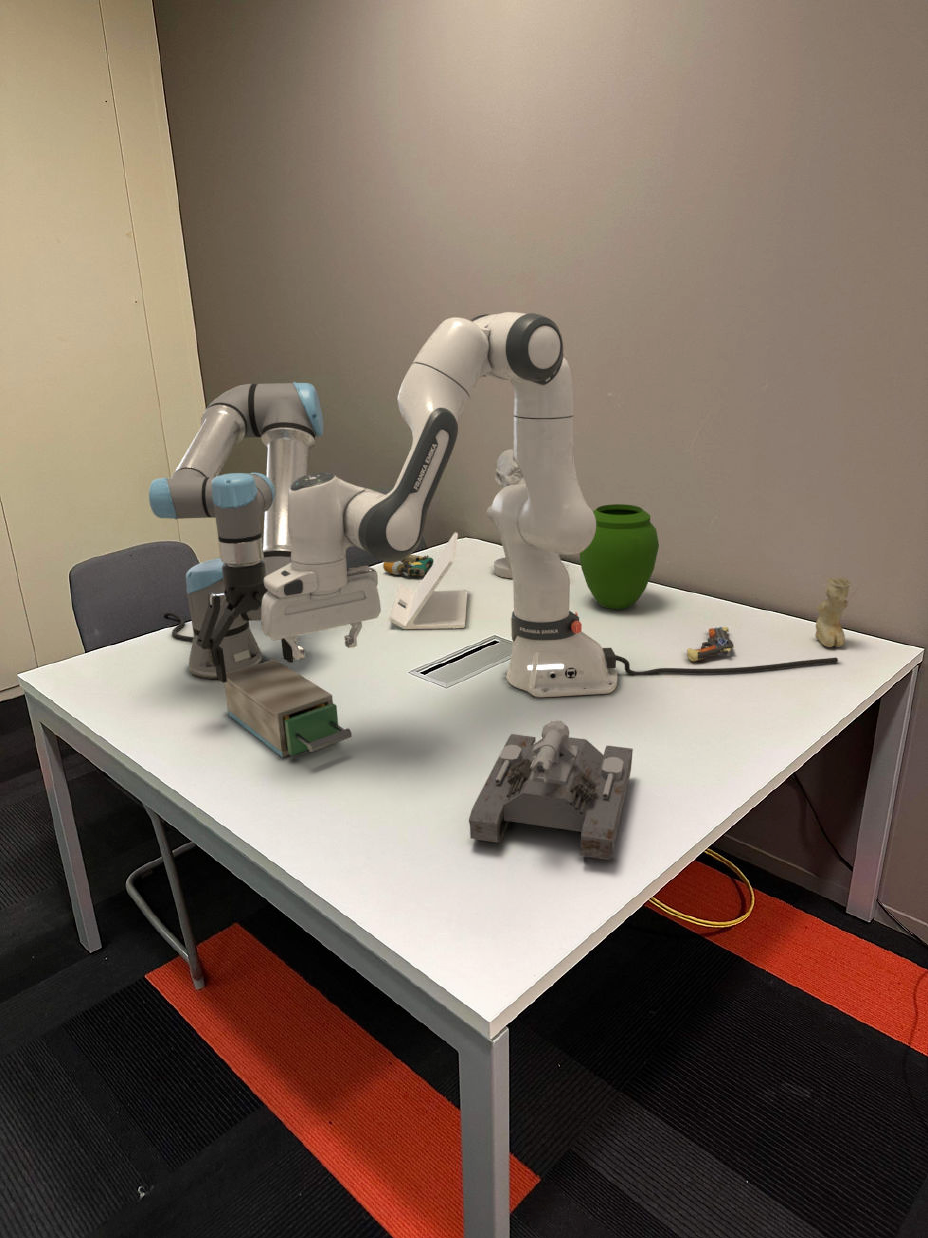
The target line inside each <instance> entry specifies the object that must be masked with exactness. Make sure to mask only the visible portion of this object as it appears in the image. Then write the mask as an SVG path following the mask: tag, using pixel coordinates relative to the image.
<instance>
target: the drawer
mask: <svg viewBox="0 0 928 1238" xmlns="http://www.w3.org/2000/svg"><path fill="white" fill-rule="evenodd" d="M337 706H338V705H336V704H335V703H334V702H333V703H332V704H329V705H327V706H325V704H324V703H322V704H319V705H316V706H313V707H310V708H307V709H304V710H301V711H299V712H296V713H293V714H290V715H287V716H284V717H283V722H284V730H285V739H286V745H287V746H288V754H289V755H288V756H291V757H293V756H295V755H298V754H300V753H304V752H306V751H309V752H310V753H313V752H315V751H318V750H321V749H324V748H326V747H329V746H332V745H335V744H338V743H339V742H342V741H344V740H347V739H350V738H352V736H353V734H352V733H353V732H352V730H351V729H350V728H348V727H347V728H344V727H342V726H341V725H339V718H338V716H339V715H338V707H337Z"/></svg>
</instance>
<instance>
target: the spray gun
mask: <svg viewBox="0 0 928 1238" xmlns="http://www.w3.org/2000/svg"><path fill="white" fill-rule="evenodd" d="M433 564H434V558H433V557H429V555H424V556H422V555H421V556H420V555H415V554H411V555H410V556H408V557H407V558H405V559H403V560H401V561H398V562H393V563H388V562H383V564H382V568H383V571H384V572H386V573H389V574H392V575H395V576H399V575H402V574H407V575H408V576H418V577H423V576H425V575H426V574H425V573H426V572H428V568H429V567H430V566H431V567H432V565H433Z"/></svg>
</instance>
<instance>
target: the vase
mask: <svg viewBox="0 0 928 1238" xmlns="http://www.w3.org/2000/svg"><path fill="white" fill-rule="evenodd" d="M592 512H593V513H594V515H595V519H596V532H595V536H594V538H593V540H592V542H591V543H590V545H589V546H588V547H587V548H586V549H585V550H584V551H582V552H580V553H578V554H579V562H580V569H581V571H582V574H583V577H584V580H585V583H586V585H587V588H588V590H589V591H590V594H592V597H593V598H594V600H595V601H596V602H597V603H598V604H599V605H600V606H602V607H604V608H606V609H609V610H625V609H628V608H630V607H632V606H634V604H636V602H638V601H639V599H640V597H641V596H642V595H643V593H644V592H645V590H646V588H647V586H648V584H649V581H650V579H651V577H652V574H653V572H654V570H655V566H656V562H657V557H658V552H659V548H660V544H659V543H660V542H659V537H658V531H657V528H656V527H655V526H654V524H653V523H652V522H651V515H650V514H649V512H647V511H645V510H644V509H643V508H642V507H641V506H638V505H633V504H622V503H621V504H619V503H616V504H615V503H614V504H604V505H601V506H598V507H597V508H595V509H594V510H592Z"/></svg>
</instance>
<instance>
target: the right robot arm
mask: <svg viewBox="0 0 928 1238" xmlns="http://www.w3.org/2000/svg"><path fill="white" fill-rule="evenodd" d="M483 377H485V378H486V377H488V378H493V379H495V380H496V379H497V380H503V381H508V380H509V381H510V383H511V386H512V388H513V392H514V396H513V431H512V432H513V437H512V439H513V440H512V441H513V445H512V446H513V447H512V449H513V455H514V459H515V462H516V464H517V465H518V466H519V468H520V470H521V472H522V474H523V477H524V480H525V483H526V484H518V485H510V486H507V487H505V488H501V489H500V490H499V491H498V493H496V495H495V497H494V499H493V501H492V504H491V505H492V517H493V520H494V522H495V524H496V525H497V527H498V528H499V530H500V532H501V534H502V537H503V539H504V543H505V546H506V550H507V553H508V557H509V561H510V565H511V570H512V576H513V578H512V591H513V593H512V594H513V611H512V612H511V618H510V635H511V640H512V645H511V646H512V647H511V655H510V660H509V665H508V669H507V672H506V675H505V678H506V681H507V683H509V684H510V685H511V686H513V687H515V688H517V689H519V690H522V691H525V692H527V693H529V694H530V695H531V696H533V697H535V698H556V697H572V696H573V697H574V696H588V695H589V696H590V695H591V696H592V695H607V694H611V693H612V692H613V691H615V690H616V688H617V686H618V673H617V670H616V668H617V662H620V663H622V664H623V665H624V671H625V673H626V674H627V675H629V676H651V675H657V674H694V675H695V674H696V675H697V674H698V675H699V674H703V675H704V674H732V673H733V674H735V673H749V672H758V671H759V672H760V671H771V670H778V669H785V668H794V667H802V666H811V665H822V664H832V663H838V662H839V658H838V657H828V658H816V659H806V660H797V661H789V662H781V663H772V664H762V665H753V666H752V665H751V666H740V667H719V668H718V667H717V668H687V667H686V668H685V667H684V668H683V667H659V668H658V667H657V668H653V669H649V670H643V671H634V670H632V669H631V668H630V667H631V665H630V662H629V661H628V659H627V658H625V657H623V656H619V655H617V654H616V653H615V652H614V650H613V648H612V647H602V645H601V644H600V643H599V642H598V641H596V640H595V639H593V638H591V637H590V636H589V635H587V634H586V633H585V632H583V631H582V630H583V626H582V625H583V624H582V622H581V621H580V616H579V615H578V612H577V611H575V613H574V612H573V611H571V610H570V590H571V589H570V586H571V585H570V584H571V579H570V574H569V572H568V570H567V567H566V566H565V565H564V563H563V561H562V558H561V557H560V555H565V556H566V555H567V556H568V555H570V556H573V555H578V554H579V553H580V552H582V551H584V550H585V549H586V548H587V547H588V546H589V545H590V543H591V542H592V540H593V538H594V536H595V532H596V519H595V515H594V513H593V509H591V507H590V506H589V505H588V503H587V501H586V499H585V497H584V494H583V492H582V489H581V485H580V482H579V478H578V473H577V469H576V465H575V464H576V463H575V457H574V454H575V453H574V424H575V423H574V422H575V421H574V418H575V399H574V398H575V397H574V385H573V377H572V370H571V366H570V363H569V361H568V359H566V358H565V357H564V341H563V336H562V333H561V331H560V328H559V327H558V325H557V324H556V323H555V321H553V320H552V319H551V318H549V317H547V316H545V315H542V314H539V313H535V312H534V313H533V312H530V313H529V312H528V313H526V312H525V313H524V312H517V311H504V312H502V313H494V314H481V315H478V316H475V317H472V318H470V319H467V318H465V317H458V316H457V317H455V316H454V317H453V316H452V317H449V318H446V319H445V320H443V321H442V322H441V323H440V324H439V325H438V326H437V328H436V329H435V330H433V332H432V333H431V334H430V336H429V337H428V339H427V340H426V341H425V343H424V344H423V346H422V347H421V348H420V350H419V351H418V353H417V355H416V356H415V358H414V360H413V361H412V364H411V365H410V367H409V368H408V370H407V371H406V374H405V376H404V378H403V379H402V382H401V385H400V387H399V391H398V394H397V405H398V409H399V412H400V415H401V418H402V419H403V421H404V422H405V424H406V425H407V426H408V428H409V429H410V431H411V434H412V441H411V443H412V444H411V448H410V450H409V453H408V455H407V457H406V458H405V459H406V460H405V461H404V464H403V466H402V469H401V471H400V473H399V475H398V478H397V480H396V482H395V485H394V487H393V488H392V489H391V490H390V491H389V492H388V493H386V494H384V493H382V492H379V491H377V490H373V489H371V488H367V487H362V486H358V485H356V484H352V483H350V482H347V481H345V480H343V479H341V478H339V477H337V476H336V475H335V474H334V473H331V472H326V471H325V472H324V471H323V472H313V473H309V474H308V473H307V475H305V476H303V477H300V478H298V479H297V480H296V481H294V482H293V483H292V485H291V486H290V489H289V493H288V530H289V535H290V537H291V540H292V552H291V563H289V564H288V565H286V566H284V567H283V568H281V569H279V570H277V571H275V572H273V573H271V574H269V575H267V576H266V577H265V578H264V586H265V588H266V589H267V590H268V591H267V592H266V593H265V595H264V596H263V599H262V607H261V620H260V621H261V629H262V632H263V634H264V635H265V636H266V637H268V638H269V639H270V640H272V641H278V640H281V639H283V638H285V640H286V641H287V642H288V644H289V645H290V646H291V647H292V651H293V659H294V660H295V661H298V660H299V661H300V660H303V659H305V658H306V655H305V654H306V648H304V647H302V646H301V645H298V644H296V642H298V636H301V635H306V634H310V633H315V632H319V631H324V630H329V629H333V628H339V627H343V626H348V625H349V626H351V628H350V630H349V633H348V634H347V635H344V636H343V637H344V646H345V647H346V648H347V649H352V648H354V647H357V645H358V642H357V638H358V637H359V634H360V633H361V630H362V628H363V622H365V621H371V620H375V619H378V618H379V616H380V614H381V613H382V607H381V600H380V594H379V590H378V584H379V578H378V577H379V576H378V571H377V570H376V569H375V568H373V567H370V566H369V565H361V566H359V567H358V566H357V567H350V568H348V567H347V555H346V554H347V553H346V552H347V549H348V548H351V547H357V548H359V549H361V550H363V551H365V552H367V554H369V555H371V557H373V558H375V559H377V560H378V561H380V562H383V563H384V562H388V563H393V562H398V561H401V560H403V559H405V558H407V557H408V556H410V555H413V553H414V552H415V551H416V550H417V548H418V547H419V546H420V543H421V542H422V539H423V535H424V530H425V527H426V519H427V514H428V511H429V508H430V506H431V502H432V500H433V498H434V495H435V493H436V491H437V488H438V486H439V484H440V481H441V479H442V477H443V474H444V472H445V470H446V467H447V465H448V462H449V461H450V458H451V456H452V453H453V450H454V447H455V445H456V441H457V439H458V434H459V422H460V419H461V417H462V414H463V412H464V409H465V407H466V405H467V403H468V402H469V400H470V398H471V396H472V394H473V393H474V390H475V388H476V386H477V384H478V382H479V381H480V379H482V378H483ZM294 641H295V642H294Z"/></svg>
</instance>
